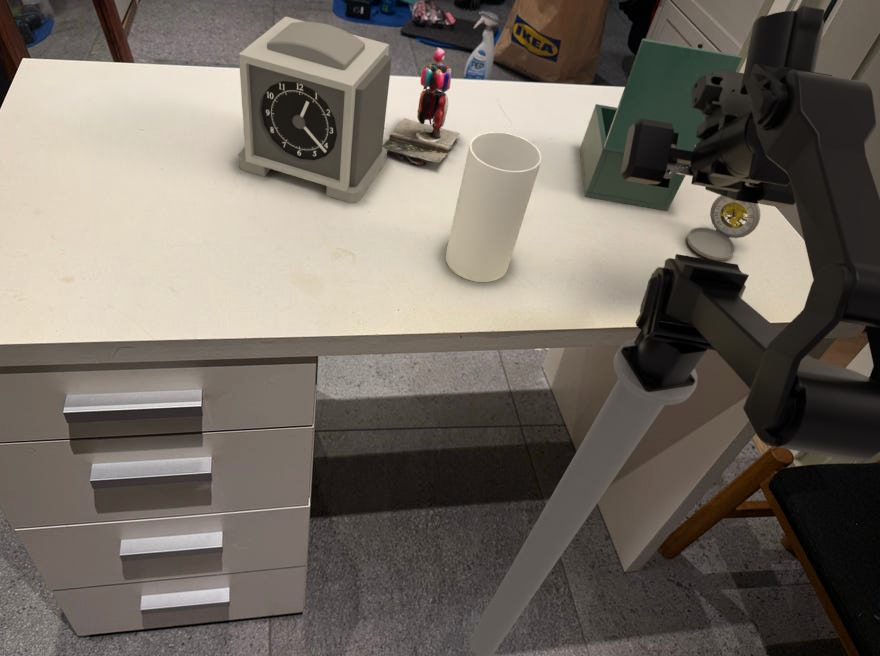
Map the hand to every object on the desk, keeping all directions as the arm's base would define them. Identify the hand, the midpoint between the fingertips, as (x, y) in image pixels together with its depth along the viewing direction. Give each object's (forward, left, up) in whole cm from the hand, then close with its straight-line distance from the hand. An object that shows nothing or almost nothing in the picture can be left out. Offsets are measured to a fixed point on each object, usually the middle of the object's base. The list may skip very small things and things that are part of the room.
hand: (680, 180), depth 79 cm
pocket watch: (+3, -14, -14) cm, 20 cm away
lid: (+15, -6, +2) cm, 16 cm away
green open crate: (+20, -8, -14) cm, 25 cm away
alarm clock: (+28, +39, -14) cm, 50 cm away
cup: (+4, +22, -14) cm, 26 cm away
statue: (+31, +22, -14) cm, 40 cm away
